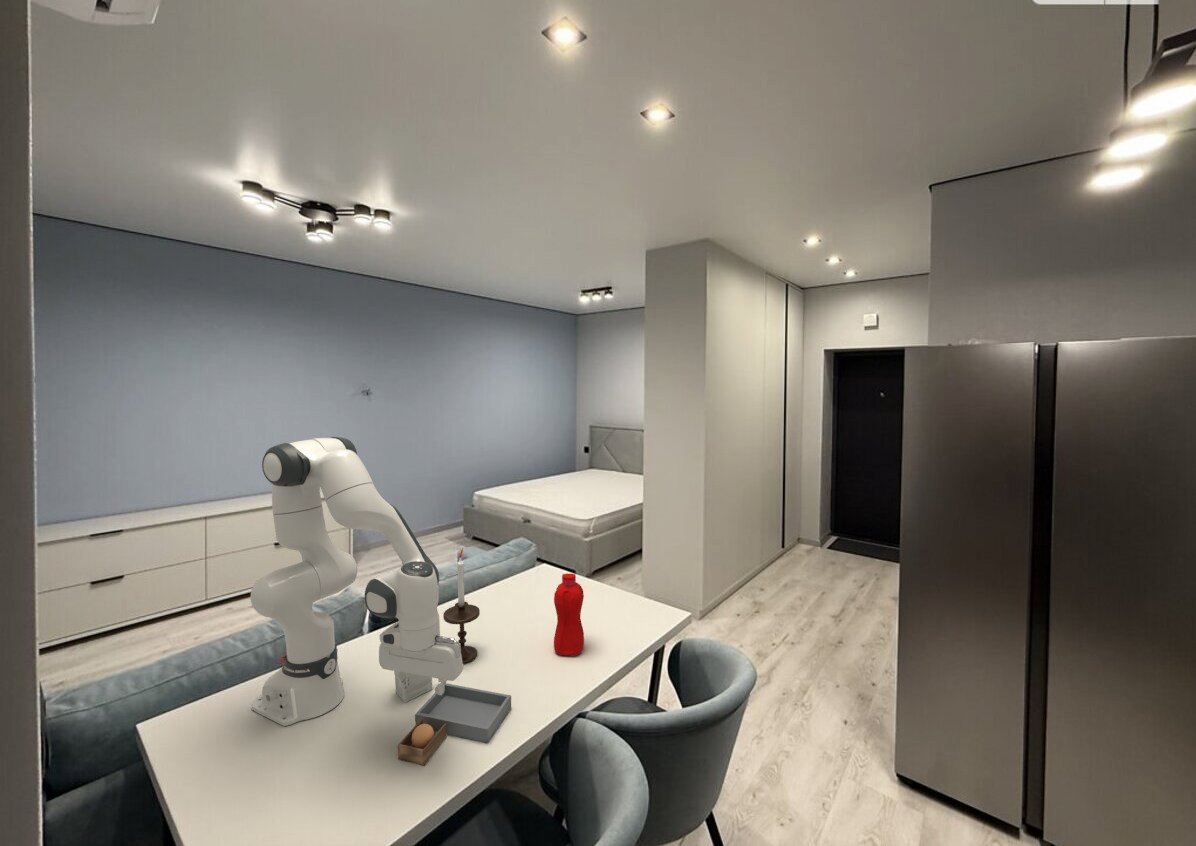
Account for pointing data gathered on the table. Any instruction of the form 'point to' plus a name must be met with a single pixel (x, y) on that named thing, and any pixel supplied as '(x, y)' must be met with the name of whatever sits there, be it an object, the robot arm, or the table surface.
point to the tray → (465, 712)
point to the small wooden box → (416, 754)
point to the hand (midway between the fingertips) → (421, 690)
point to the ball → (422, 735)
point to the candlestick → (462, 616)
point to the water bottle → (568, 617)
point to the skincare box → (414, 686)
